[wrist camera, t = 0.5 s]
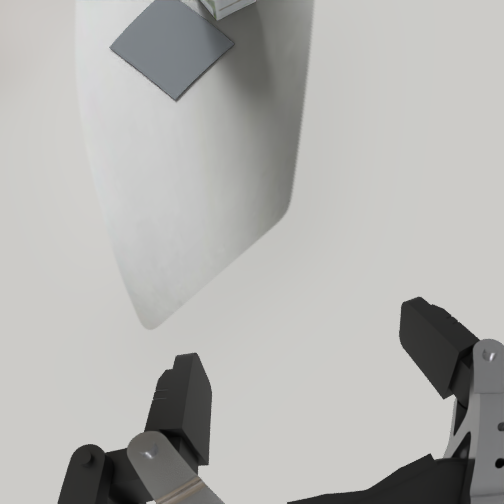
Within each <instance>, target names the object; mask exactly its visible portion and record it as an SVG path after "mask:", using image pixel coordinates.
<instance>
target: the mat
mask: <svg viewBox="0 0 504 504" xmlns="http://www.w3.org/2000/svg"><path fill="white" fill-rule="evenodd" d="M233 45H234V43H233V42H232V41H231V40H229V39H228V38H227V37H226V36H225V35H224V34H222V33H221V32H220V31H219V30H218V29H216V28H215V27H214V26H213V25H211V24H210V23H209V22H208V21H206V20H205V19H204V18H203V17H201V16H200V15H199V14H197V13H196V12H195V11H194V10H192V9H191V8H190V7H188V6H187V5H185V4H184V3H183V2H181V1H180V0H155V1H154V2H153V3H152V4H150V5H149V6H148V7H147V8H146V9H145V10H144V11H143V12H142V13H141V14H140V15H139V16H138V17H137V18H136V19H135V20H134V21H133V22H132V23H131V24H130V25H129V26H128V27H127V28H126V29H125V30H124V32H123V33H122V34H121V35H120V36H119V37H118V38H117V39H116V40H115V42H114V43H113V44H112V45H111V46H110V47H109V48H110V49H112V50H113V51H114V52H116V53H117V54H118V55H120V56H121V57H122V58H124V59H125V60H126V61H128V62H129V63H130V64H131V65H133V66H134V67H135V68H137V69H138V70H139V71H140V72H142V73H143V74H144V75H145V76H147V77H148V78H149V79H150V80H152V81H153V82H154V83H155V84H156V85H158V86H159V87H160V88H161V89H163V90H164V91H165V92H166V93H167V94H169V95H170V96H171V97H172V98H173V99H175V100H176V99H177V98H178V97H179V95H180V94H181V93H182V92H183V91H184V90H185V89H186V88H187V87H188V86H189V85H190V84H191V83H192V82H193V81H194V80H195V79H196V78H197V77H198V76H199V75H200V74H202V73H203V72H204V71H205V70H206V69H207V68H208V67H209V66H210V65H211V64H212V63H213V62H214V61H216V60H217V59H218V58H219V57H220V56H221V55H222V54H223V53H225V52H226V51H227V50H228V49H229V48H230V47H232V46H233Z"/></svg>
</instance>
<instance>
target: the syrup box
mask: <svg viewBox="0 0 504 504" xmlns="http://www.w3.org/2000/svg"><path fill="white" fill-rule="evenodd" d="M200 1H201V2H202V3H203V4H204V6H205V7H206V8H207V9H208V11H209V12H210V13H211V14H212V15H213V17H214V18H215V19H216V20H217V21H218V20H220V19H222V18H224V17H225V16H227V15H229V14H231V13H233V12H235V11H237V10H239V9H241V8H243V7H245V6H248V5H250V4H252V3H254V2H256V0H200Z"/></svg>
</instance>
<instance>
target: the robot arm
mask: <svg viewBox="0 0 504 504" xmlns="http://www.w3.org/2000/svg"><path fill="white" fill-rule="evenodd" d="M399 337H400V342H401V345H402V346H403V348H404V349H405V350H406V352H407V353H408V354H409V356H410V357H411V358H412V359H413V361H414V362H415V363H416V364H417V366H418V367H419V368H420V369H421V371H422V372H423V373H424V375H425V376H426V377H427V378H428V380H429V381H430V382H431V384H432V385H433V386H434V387H435V389H436V390H437V392H438V393H439V394H440V396H441V397H442V398H443V399H445V398H447V397H449V396H451V395H453V394H454V395H455V397H456V399H455V402H454V409H453V417H452V425H451V432H450V438H449V443H448V446H447V449H446V451H445V454H444V457H443V458H442V459H436V460H434V459H433V457H432V455H431V454H428V455H426V456H424V457H422V458H420V459H418V460H416V461H414V462H412V463H410V464H408V465H406V466H404V467H401V468H399V469H398V470H396V471H395V472H394V473H392V474H391V475H389V476H388V477H386V478H385V479H383V480H382V481H380V482H379V483H377V484H376V485H374V486H372V487H371V488H369V489H367V490H364V491H356V492H346V493H334V494H324V495H320V496H316V497H312V498H307V499H302V500H297V501H292V502H287V504H504V345H503V344H502V343H500V342H498V341H496V340H493V339H483V340H479V339H478V338H477V337H476V336H475V335H474V334H472V333H471V332H470V331H469V330H468V329H467V328H466V327H464V326H463V325H462V324H461V323H460V322H458V321H457V320H456V319H455V318H454V317H451V315H450V314H449V313H448V312H447V311H446V310H444V309H443V308H440V307H438V306H435V305H433V304H432V305H430V304H429V303H428V302H427V301H425V300H424V299H423V298H422V297H417V298H414V299H411V300H408V301H406V302H403V304H402V306H401V319H400V331H399ZM211 402H212V391H211V386H210V382H209V380H208V377H207V375H206V373H205V370H204V368H203V366H202V363H201V361H200V358H199V356H198V354H197V353H190V354H183V355H177V356H176V358H175V361H174V365H173V369H169V370H166V371H165V372H164V373H163V374H162V376H161V377H160V378H159V380H158V383H157V386H156V392H155V393H154V397H153V401H152V404H151V408H150V411H149V415H148V419H147V423H146V427H145V430H144V432H143V433H140V434H138V435H137V436H135V437H134V438H133V439H132V440H131V441H130V443H129V445H128V447H127V448H125V449H121V450H116V451H111V452H107V453H105V452H104V451H103V450H102V449H101V448H100V447H98V446H97V445H93V444H88V445H84V446H81V447H80V448H78V449H77V450H76V451H75V452H74V453H73V455H72V457H71V460H70V463H69V466H68V469H67V472H66V476H65V479H64V482H63V485H62V489H61V492H60V496H59V500H58V504H146V502H148V501H153V500H155V502H156V504H225V503H224V502H223V501H222V500H221V499H220V498H219V497H218V496H217V495H216V494H215V493H213V491H212V490H211V489H210V488H209V487H208V486H207V485H206V484H205V483H204V482H203V481H202V480H201V478H200V477H199V476H198V466H201V465H208V463H209V441H210V419H211Z"/></svg>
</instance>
